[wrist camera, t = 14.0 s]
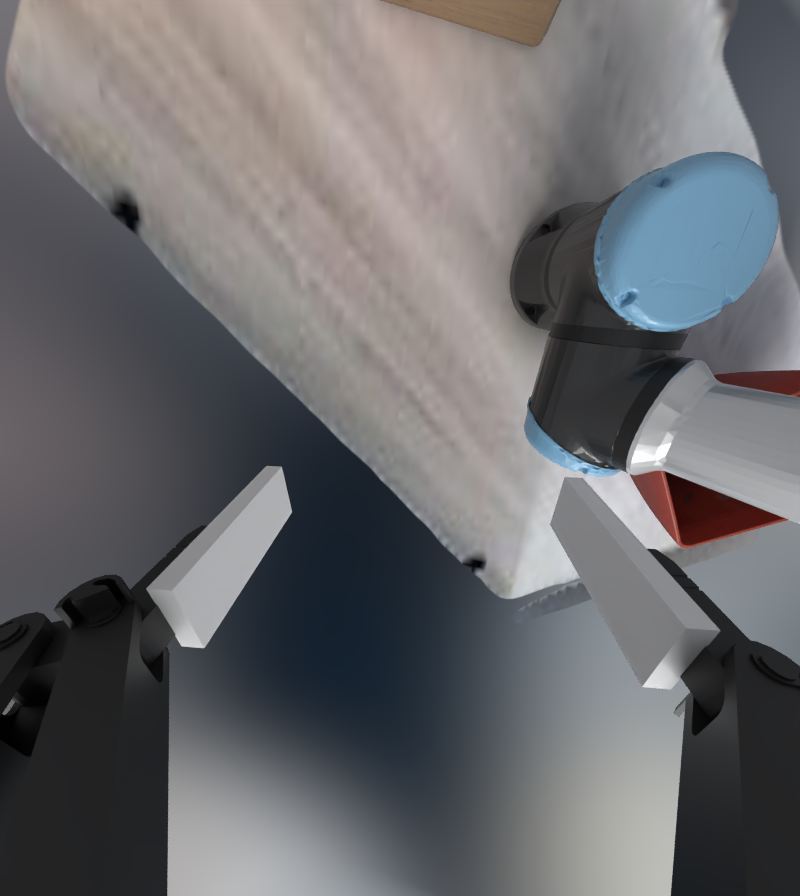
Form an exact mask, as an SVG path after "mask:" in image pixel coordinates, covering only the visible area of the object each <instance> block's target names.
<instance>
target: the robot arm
mask: <svg viewBox="0 0 800 896" xmlns="http://www.w3.org/2000/svg"><path fill="white" fill-rule="evenodd" d="M778 220H779V208H778V201H777V196H776V193H775V192H773V191H770V190H769V188H768V176H767V175H766V173H765V172H764V170H763V169H762V168H761V167H760V166H759V165H757V164H756V163H755V162H753V161H751V160H750V159H748V158H746V157H744V156H741V155H738V154H734V153H729V152H707V153H701V154H697V155H693V156H690V157H687V158H684V159H681V160H679V161H677V162H674V163H672V164H670V165H668V166H666V167H663V168H659V169H656V170H654V171H653V172H651V173H649V172H648V173H647V174H645V175H643V176H641V177H639V178H638V179H637V180H635V181H633V182H632V183H631V184H630V185H629V186H627V187H626V188H625V189H623V190H621V191H620V192H618V193H616V194H615V195H613V196H611V197H610V198H608V199H606V200H605V201H603V202H601V203H593V202H585V203H578V204H574V205H570V206H568V207H565V208H563V209H561V210H559V211H557V212H555V213H554V214H552V215H551V216H549V217H548V218H546V219H545V220H544V221H542V222H541V223H540V224H539V225H538V226H536V227H535V228H534V229H533V231H532V232H531V233H530V234H529V235H528V236H527V238H526V239H525V241H524V242H523V244H522V245H521V247H520V249H519V251H518V253H517V255H516V258H515V260H514V263H513V267H512V271H511V278H510V290H511V297H512V300H513V303H514V306H515V308H516V310H517V311H518V313H519V314H520V316H521V317H522V318H523V319H524V320H525V321H526V322H528V323H529V324H531V325H533V326H534V327H537V328H540V329H544V330H549V331H550V333H549V336H548V339H547V343H546V346H545V350H544V353H543V357H542V360H541V364H540V368H539V371H538V375H537V378H536V382H535V385H534V389H533V393H532V396H531V397H530V398H529V400H528V404H527V409H528V411H527V416H526V420H525V425H524V430H525V434H526V437H527V439H528V441H529V442H530V444H531V445H532V446H533V447H534V448H535V449H536V450H537V451H538V452H539V453H540V454H542V455H543V456H544V457H546V458H547V459H549V460H550V461H552V462H554V463H556V464H558V465H560V466H562V467H564V468H567V469H569V470H572V471H578V470H580V471H582V472H583V473H584V474H586V475H590V476H598V477H602V476H611V475H614V474H616V473H618V472H619V471H621V470H622V471H625V472H627V473H629V474H632V475H640V474H644V473H649V472H653V471H666V472H669V473H671V474H674V475H676V476H679V477H681V478H684V479H686V480H689V481H692V482H694V483H697V484H699V485H702V486H704V487H707V488H709V489H712V490H714V491H717V492H720V493H722V494H725V495H727V496H730V497H732V498H735V499H737V500H740V501H743V502H745V503H748V504H750V505H753V506H755V507H758V508H760V509H763V510H765V511H768V512H771V513H773V514H776V515H778V516H781V517H783V518H786V519H788V520H791V521H794V522H796V523H799V524H800V397H795V396H790V395H784V394H779V393H773V392H768V391H762V390H757V389H751V388H746V387H740V386H735V385H729V384H724V383H721V382H719V381H718V380H716V379H715V377H714V376H713V374H712V372H711V371H710V369H709V368H708V366H707V364H706V363H705V362H704V361H701V360H697V359H690V358H683V357H678V354H679V351H680V349H681V347H682V345H683V343H684V341H685V339H686V337H687V335H688V332H689V331H690V329H691V327H692V326H695V325H696V324H699V323H702V322H704V321H706V320H708V319H710V318H712V317H714V316H716V315H717V314H719V313H720V312H721V310H722V307H724V306H725V305H727V304H732V303H734V302H735V301H736V300H737V299H738V298H739V297H741V296H742V295H743V294H744V293H745V292H746V290H747V289H748V288H749V287H750V286H751V284H752V283H753V282H754V280H755V279H756V278H757V276H758V275H759V273H760V272H761V270H762V269H763V267H764V265H765V263H766V261H767V259H768V257H769V255H770V252H771V250H772V247H773V244H774V241H775V238H776V233H777V228H778ZM291 512H292V510H291V506H290V501H289V497H288V492H287V488H286V483H285V479H284V475H283V470H282V467H273V466H272V467H271V466H266V467H265V468H264V469H263V470H262V471H261V472H260V473H259V475H257V476H256V477H255V478H254V479H253V480H252V482H250V483H249V485H248V486H247V487H246V488H245V489H244V490H243V491H242V492H241V493H240V494H239V495H238V496H237V497H236V498H235V499H234V500H233V501H232V502H231V503H230V504H229V505H228V506H227V507H226V508H225V509H224V510H223V511H222V512H221V513H220V514H219V515H218V516H217V517H216V518H215V519H214V520H213V521H212V522H211V523H210V524H209V525H208V526H200V527H199V528H197V529H196V530H194V531H192V532H191V533H189V534H187V535H186V536H185V537H184V538H183V539H182V540H181V541H180V542H179V543H178V544H177V545H176V548H173V549H172V550H171V551H170V552H169V553H168V554H167V555H166V557H164V558H163V559H162V560H160V561H159V562H158V563H157V564H156V565H155V566H154V567H153V568H152V569H151V570H150V571H149V572H148V573H147V574H146V575H145V576H144V577H143V578H142V579H141V580H140V581H139V582H138V583H137V584H136V585H135V586H134V587H133V588H132V589H131V590H129V588H128V587H127V585H126V584H125V582H124V581H123V579H122V578H121V577H120V576H117V575H105V576H101V577H98V578H94V579H92V580H90V581H88V582H86V583H83V584H81V585H80V586H79V587H77V588H75V589H74V590H72V591H70V592H69V593H68V594H67V595H66V596H65V597H63V599H61V600H60V601H59V603H58V604H57V606H56V607H55V609H54V611H55V612H56V613H57V614H58V615H59V616H60V618H61V619H62V621H58V622H53V623H52V622H51V621H50V620H49V619H48V618H47V617H46V616H45V615H44V614H42V613H38V612H36V613H29V614H24V615H22V616H19V617H16V618H13V619H11V620H9V621H8V622H5V623H3V624H1V625H0V896H167V864H168V863H167V859H168V761H169V760H168V759H169V656H170V653H169V650H168V647H167V645H168V643H169V642H170V641H171V640H172V638H173V637H174V636H176V638H177V639H178V641H179V643H180V644H181V646H186V647H197V648H205V646H206V645H207V643H208V642H209V640H210V638H211V637H212V635H213V634H214V632H215V630H216V629H217V628H218V626H219V624H220V623H221V621H222V620H223V618H224V617H225V615H226V614H227V612H228V610H229V609H230V607H231V606H232V604H233V603H234V601H235V599H236V598H237V596H238V595H239V593H240V592H241V590H242V589H243V587H244V586H245V584H246V583H247V581H248V579H249V578H250V576H251V575H252V573H253V572H254V570H255V569H256V567H257V565H258V564H259V562H260V561H261V559H262V558H263V556H264V554H265V553H266V551H267V550H268V548H269V546H270V545H271V544H272V542H273V540H274V539H275V537H276V536H277V534H278V533H279V531H280V530H281V528H282V526H283V525H284V523H285V522H286V520H287V519H288V517H289V516H290V514H291ZM550 525H551V527H552V529H553V531H554V532H555V534H556V536H557V538H558V539H559V541H560V543H561V545H562V546H563V548H564V550H565V552H566V553H567V555H568V557H569V559H570V561H571V562H572V564H573V566H574V568H575V569H576V571H577V573H578V575H579V576H580V578H581V580H582V582H583V583H584V585H585V587H586V589H587V591H588V592H589V594H590V596H591V598H592V599H593V601H594V603H595V604H596V606H597V608H598V610H599V612H600V613H601V615H602V617H603V618H604V621H605V622H606V624H607V626H608V627H609V629H610V631H611V633H612V635H613V636H614V638H615V640H616V642H617V643H618V645H619V647H620V649H621V651H622V652H623V654H624V656H625V657H626V659H627V661H628V663H629V665H630V666H631V668H632V670H633V672H634V673H635V675H636V677H637V679H638V680H639V682H640V684H641V686H642V687H650V688H661V689H672V688H673V686H674V685H675V684H676V683H677V682H678V680H679V679H680V678H682V680H683V681H684V683H685V684H686V686H687V687H688V689H689V690H690V693H689V694H688V695H687V696H686V697H685V699H684V700H683V701H682V702H681V703H680V704H679V705H678V706H677V707H676V709H675V711H674V714H676V715H677V716H678V717H679V716H680V715H681V714H682V713H683V712H684V711H685V718H684V731H683V744H682V757H681V771H680V783H679V797H678V809H677V823H676V835H675V849H674V863H673V875H672V888H671V896H800V666H799V665H797V664H796V663H795V662H793V661H792V660H791V659H789V658H788V657H787V656H785V655H783V654H782V653H780V652H778V651H776V650H775V649H773V648H771V647H768V646H766V645H763V644H761V643H759V642H756V641H750V640H749V639H748V638H747V637H746V636H745V635H744V634H743V633H742V632H741V631H740V630H739V629H738V627H737V626H735V624H733V622H732V621H731V620H730V619H729V618H728V617H727V616H726V615H725V614H724V613H723V612H722V611H721V610H720V609H719V608H718V607H717V606H716V605H715V604H714V603H713V602H712V601H711V600H710V599H709V597H708V596H707V595H705V593H704V592H703V591H700V590H699V587H698V586H697V585H696V584H695V583H694V582H693V581H692V580H691V579H689V578H688V577H687V575H686V574H685V573H684V572H683V571H682V570H681V568H680V567H679V566H678V565H677V564H676V563H675V562H674V561H672V560H671V559H669V558H668V557H666V556H665V555H664V554H662V553H661V552H659V551H658V550H656V549H646V548H645V547H644V545H643V544H642V543H641V542H640V541H639V540H638V539H637V538H636V537H635V535H634V534H633V533H632V532H631V531H630V530H629V529H628V528H627V527H626V526H625V524H624V523H623V522H622V521H621V520H620V519H619V518H618V517H617V516H616V514H615V513H614V512H613V511H612V510H611V509H610V508H609V507H608V506H607V505H606V503H605V502H604V501H603V500H602V499H601V498H600V497H599V496H598V495H597V493H596V492H595V491H594V490H593V489H592V488H591V487H590V486H589V485H588V484H587V482H586V481H585V480H584V479H583V478H568V477H565V478H564V481H563V484H562V488H561V491H560V494H559V498H558V501H557V504H556V507H555V511H554V514H553V517H552V520H551V524H550ZM11 699H13V700H14V701H15V703H14V705H13V706H12V708H11V709H10V711H9V712H8V713H7V714H6V715H3V714H2V713H3V711H4V710H5V708H6V707H7V705H8V704H9V702H10V701H11Z"/></svg>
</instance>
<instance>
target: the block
mask: <svg viewBox="0 0 800 896" xmlns="http://www.w3.org/2000/svg"><path fill="white" fill-rule="evenodd" d="M382 1H385V2H388V3H392V4H395V5H398V6H401V7H405V8H408V9H411V10H415V11H418V12H421V13H424V14H428V15H431V16H434V17H437V18H441V19H444V20H447V21H450V22H454V23H457V24H460V25H464V26H467V27H470V28H473V29H477V30H480V31H483V32H486V33H490V34H493V35H496V36H499V37H503V38H506V39H509V40H512V41H516V42H519V43H522V44H526V45H529V46H537V45H539V44H540V43H541V41H542V40H543V38H544V36H545V35H546V33H547V30H548V28H549V26H550V24H551V21H552V19H553V17H554V15H555V12H556V10H557V8H558V6H559V3H560V1H561V0H382Z"/></svg>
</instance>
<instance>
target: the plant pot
mask: <svg viewBox="0 0 800 896" xmlns="http://www.w3.org/2000/svg"><path fill="white" fill-rule="evenodd" d="M713 376H714V377H715V379H716V380H718V381H719V382H721V383H724V384H729V385H735V386H740V387H746V388H751V389H757V390H762V391H768V392H773V393H779V394H784V395H790V396H795V397H800V370H789V371H756V372H740V373H728V374H718V375H713ZM630 476H631V478H632V480H633V481H634V483H635V485H636V487H637V489H638V490H639V492H640V494H641V495H642V497H643V499H644V500H645V502H646V503H647V505H648V506H649V508H650V509H651V511H652V512H653V513H654V515H655V516H656V518H657V519H658V520H659V522H660V523H661V524H662V526H663V527H664V528H665V530H666V531H667V532H668V533H669V535H670V536H671V537H672V538H673V540H674V541H675V542H676V543H677V544H678V545H679V546H680V547H682V548H690V547H694V546H697V545H701V544H704V543H708V542H711V541H715V540H719V539H722V538H726V537H729V536H733V535H736V534H740V533H743V532H747V531H750V530H754V529H757V528H761V527H764V526H768V525H771V524H775V523H779V522H782V521H786V520H788V519H786V518H783V517H781V516H778V515H776V514H773V513H771V512H768V511H765V510H763V509H760V508H758V507H755V506H753V505H750V504H748V503H745V502H743V501H740V500H737V499H735V498H732V497H730V496H727V495H725V494H722V493H720V492H717V491H714V490H712V489H709V488H707V487H704V486H702V485H699V484H697V483H694V482H692V481H689V480H686V479H684V478H681V477H679V476H676V475H674V474H671V473H669V472H666V471H653V472H649V473H644V474H640V475H632V474H630Z"/></svg>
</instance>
